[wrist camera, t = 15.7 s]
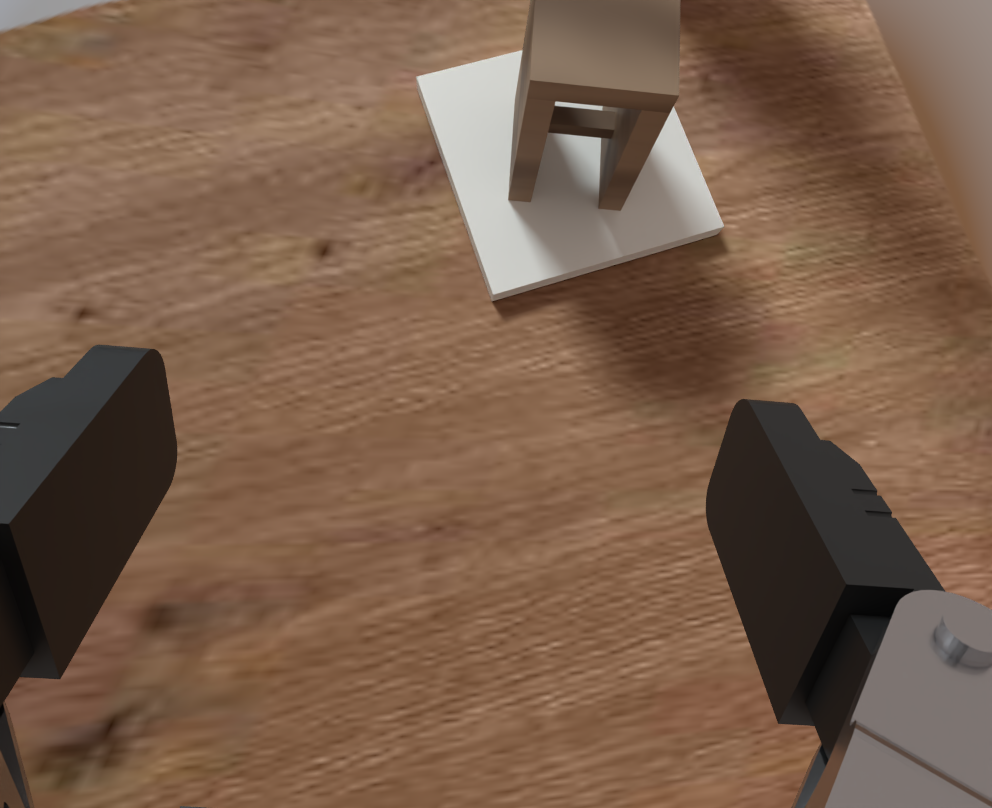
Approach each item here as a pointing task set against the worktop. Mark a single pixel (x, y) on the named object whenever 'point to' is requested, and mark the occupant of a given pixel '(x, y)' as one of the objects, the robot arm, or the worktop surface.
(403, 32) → the worktop surface
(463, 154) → the off-white board
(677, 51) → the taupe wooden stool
